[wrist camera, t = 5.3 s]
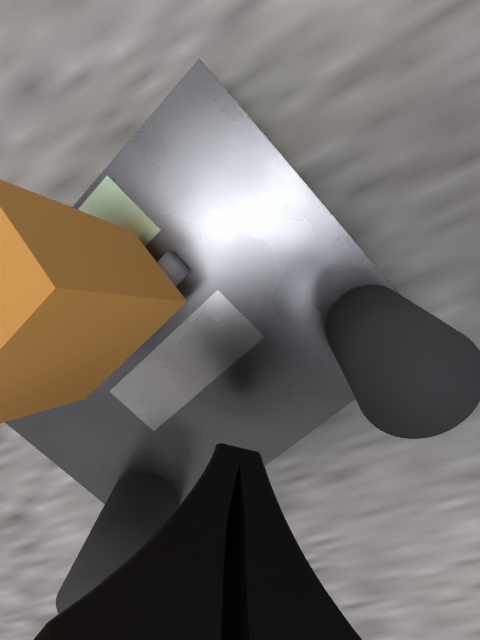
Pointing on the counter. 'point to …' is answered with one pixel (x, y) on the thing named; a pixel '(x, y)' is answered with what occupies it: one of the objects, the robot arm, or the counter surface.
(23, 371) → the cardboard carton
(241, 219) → the grey flat block
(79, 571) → the post
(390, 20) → the counter surface
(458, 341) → the post
